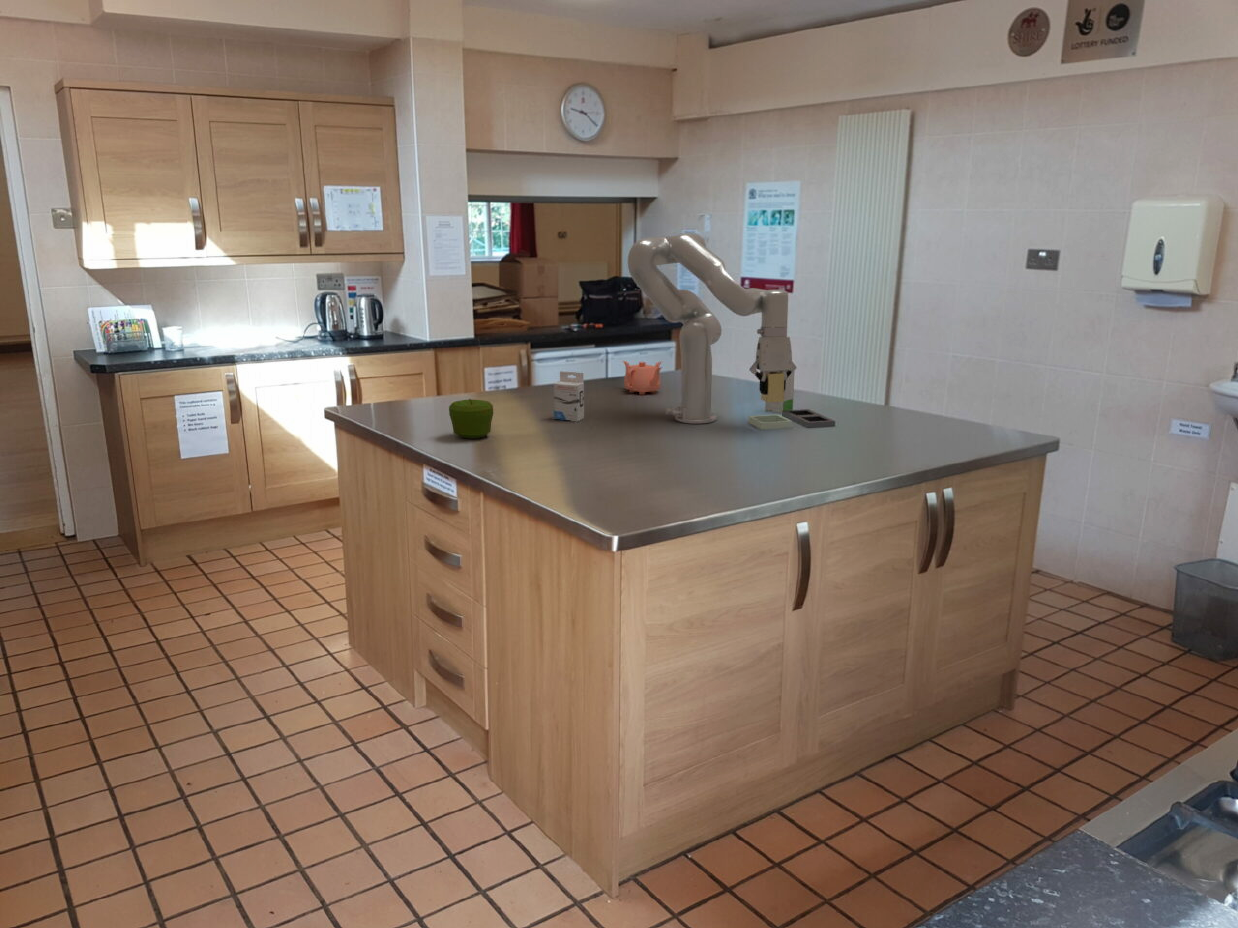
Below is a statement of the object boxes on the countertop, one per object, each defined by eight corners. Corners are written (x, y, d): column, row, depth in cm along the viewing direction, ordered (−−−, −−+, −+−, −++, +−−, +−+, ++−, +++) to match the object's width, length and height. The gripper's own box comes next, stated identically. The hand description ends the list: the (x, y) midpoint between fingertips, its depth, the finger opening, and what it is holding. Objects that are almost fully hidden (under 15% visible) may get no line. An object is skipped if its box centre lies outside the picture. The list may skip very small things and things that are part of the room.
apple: (450, 442, 261) (448, 403, 258) (450, 432, 273) (448, 395, 270) (494, 441, 263) (493, 402, 260) (493, 431, 275) (492, 393, 272)
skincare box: (781, 415, 295) (784, 367, 291) (763, 412, 299) (765, 365, 295) (793, 411, 302) (796, 363, 298) (775, 408, 306) (777, 361, 302)
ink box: (553, 420, 289) (552, 373, 286) (560, 416, 294) (559, 371, 290) (578, 422, 287) (578, 375, 283) (584, 418, 291) (584, 372, 287)
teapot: (622, 388, 341) (622, 358, 338) (661, 388, 340) (661, 359, 338) (621, 396, 327) (621, 365, 324) (662, 396, 326) (662, 365, 324)
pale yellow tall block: (767, 402, 275) (768, 373, 273) (761, 399, 279) (761, 371, 277) (783, 401, 276) (784, 372, 274) (776, 398, 281) (777, 370, 278)
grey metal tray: (807, 430, 276) (807, 422, 275) (781, 417, 293) (782, 410, 292) (834, 428, 278) (835, 421, 277) (808, 415, 295) (808, 409, 294)
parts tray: (761, 431, 274) (761, 423, 273) (748, 424, 283) (748, 416, 283) (792, 429, 277) (792, 421, 276) (778, 422, 286) (778, 414, 285)
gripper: (752, 335, 267) (750, 397, 272) (806, 332, 271) (803, 393, 276) (742, 332, 274) (741, 392, 279) (795, 329, 278) (793, 389, 283)
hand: (772, 392), depth 277 cm, fingers closed on pale yellow tall block, 5 cm apart
